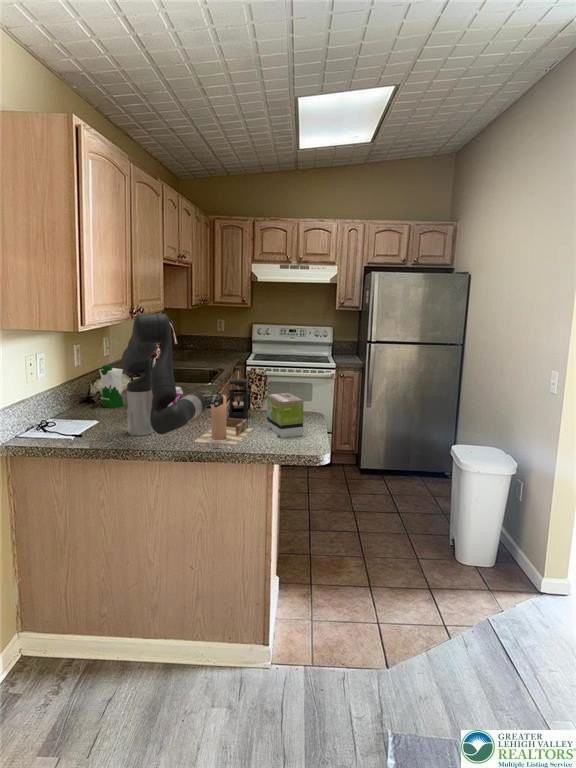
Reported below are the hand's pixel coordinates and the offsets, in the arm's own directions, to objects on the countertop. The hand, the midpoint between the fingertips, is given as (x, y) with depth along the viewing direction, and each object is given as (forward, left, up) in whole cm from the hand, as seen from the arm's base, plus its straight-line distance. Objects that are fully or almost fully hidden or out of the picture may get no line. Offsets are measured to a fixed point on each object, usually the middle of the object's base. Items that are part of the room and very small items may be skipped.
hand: (208, 395), depth 188 cm
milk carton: (-19, +87, -20) cm, 91 cm away
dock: (+11, +13, -20) cm, 26 cm away
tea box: (+35, +10, -20) cm, 41 cm away
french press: (+28, +41, -20) cm, 53 cm away
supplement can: (-1, +44, -20) cm, 48 cm away
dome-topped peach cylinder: (+7, +9, -18) cm, 22 cm away
